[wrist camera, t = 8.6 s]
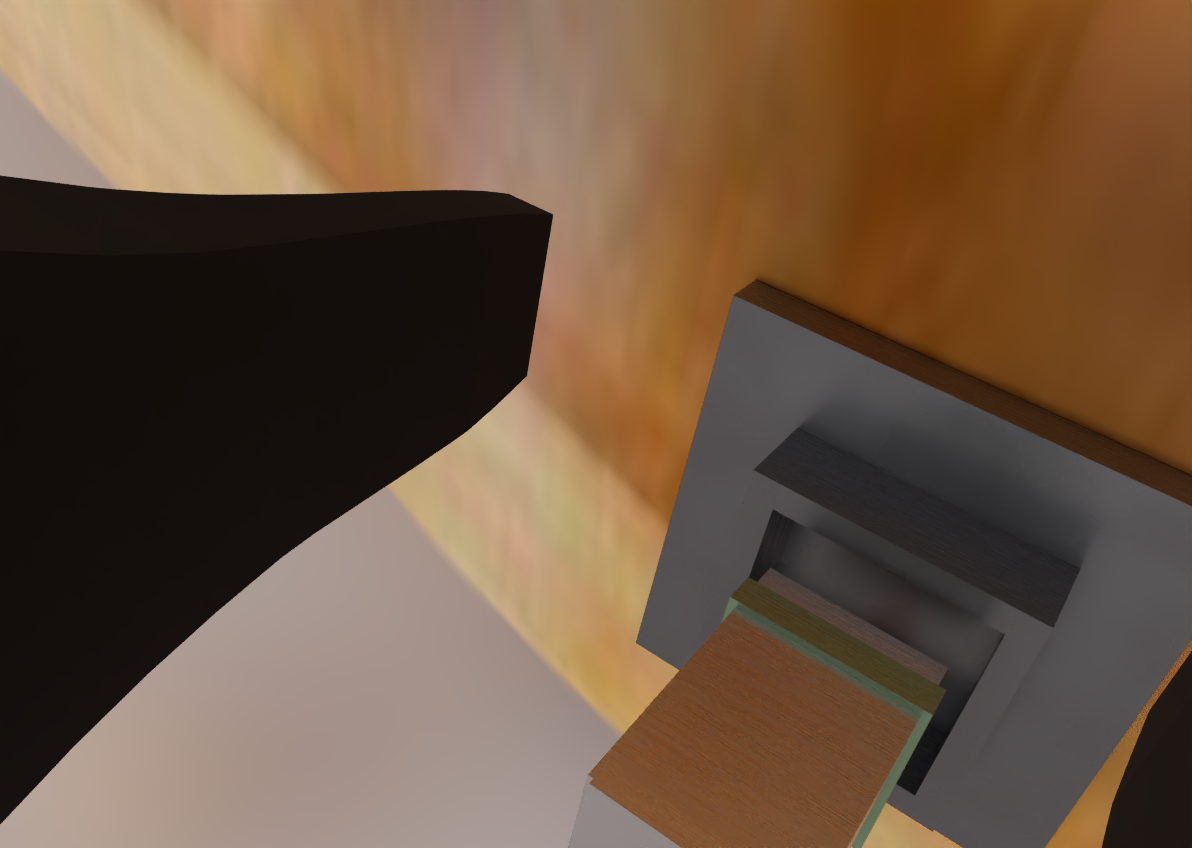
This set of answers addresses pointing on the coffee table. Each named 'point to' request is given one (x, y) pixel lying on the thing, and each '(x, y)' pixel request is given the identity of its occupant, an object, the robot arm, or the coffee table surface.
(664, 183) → the coffee table surface
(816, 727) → the pull-out drawer
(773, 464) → the grey slotted holder
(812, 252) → the coffee table surface
